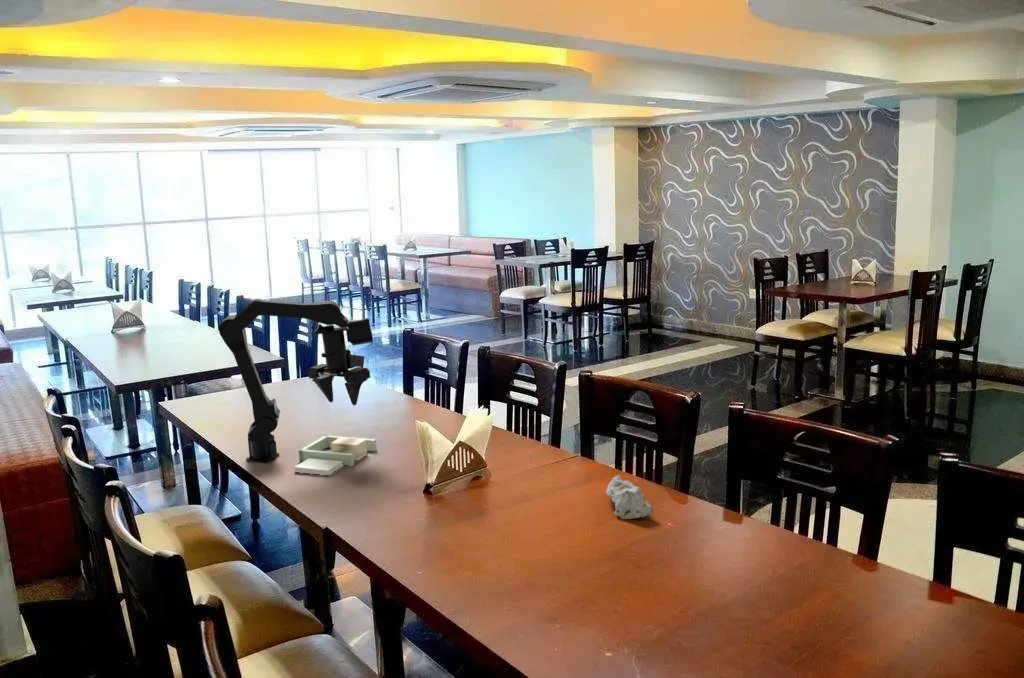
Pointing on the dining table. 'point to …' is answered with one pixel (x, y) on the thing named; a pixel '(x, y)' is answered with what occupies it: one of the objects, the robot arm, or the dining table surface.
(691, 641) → the dining table surface
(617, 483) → the rock
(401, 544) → the dining table surface
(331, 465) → the stand
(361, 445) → the block
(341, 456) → the shelf bay
